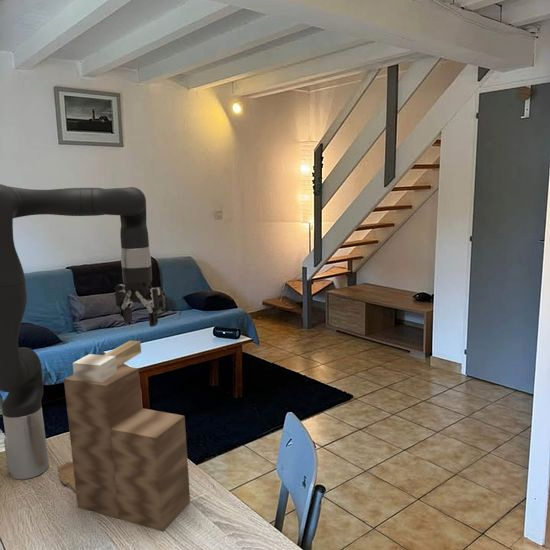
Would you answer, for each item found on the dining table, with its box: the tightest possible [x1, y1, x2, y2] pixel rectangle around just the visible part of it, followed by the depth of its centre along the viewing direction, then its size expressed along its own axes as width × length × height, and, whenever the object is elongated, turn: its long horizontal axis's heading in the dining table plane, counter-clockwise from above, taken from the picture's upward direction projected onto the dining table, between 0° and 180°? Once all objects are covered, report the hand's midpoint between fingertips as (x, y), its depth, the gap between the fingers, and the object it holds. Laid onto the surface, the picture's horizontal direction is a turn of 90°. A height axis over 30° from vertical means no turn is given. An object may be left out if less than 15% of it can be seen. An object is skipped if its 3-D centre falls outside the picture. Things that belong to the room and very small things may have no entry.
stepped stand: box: [63, 365, 191, 532], centre depth 120 cm, size 24×11×32 cm, turn 67°
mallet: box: [72, 340, 142, 383], centre depth 124 cm, size 7×20×4 cm, turn 164°
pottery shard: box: [56, 461, 76, 494], centre depth 135 cm, size 8×16×2 cm, turn 32°
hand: (140, 324), depth 139 cm, fingers open, 8 cm apart
